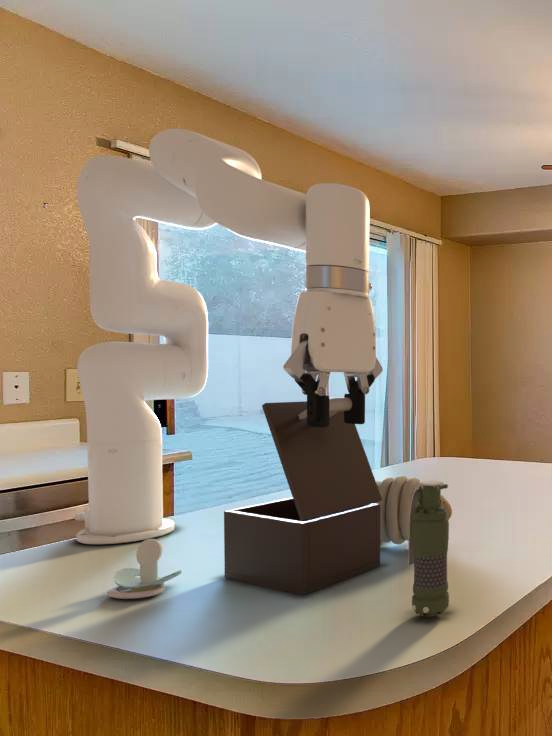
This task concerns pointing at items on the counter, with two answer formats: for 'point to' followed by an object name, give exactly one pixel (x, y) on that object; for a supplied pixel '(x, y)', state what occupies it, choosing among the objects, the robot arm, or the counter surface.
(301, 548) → the dark wooden chest
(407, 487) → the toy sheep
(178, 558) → the counter surface
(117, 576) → the pacifier
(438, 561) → the grenade
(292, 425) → the lid
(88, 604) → the counter surface
